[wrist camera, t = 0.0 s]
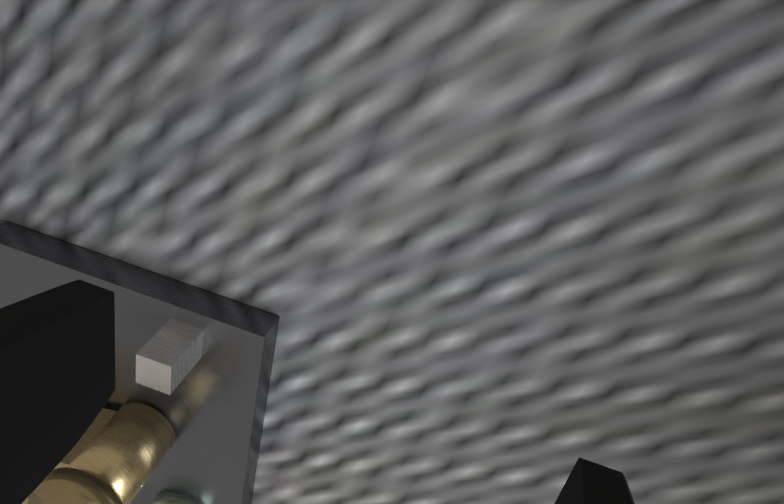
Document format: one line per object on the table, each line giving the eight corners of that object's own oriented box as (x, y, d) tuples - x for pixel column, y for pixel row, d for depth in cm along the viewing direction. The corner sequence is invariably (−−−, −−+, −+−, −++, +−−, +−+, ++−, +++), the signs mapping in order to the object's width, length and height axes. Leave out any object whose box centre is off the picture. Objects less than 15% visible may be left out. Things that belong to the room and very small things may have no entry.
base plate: (238, 586, 31) (204, 653, 28) (37, 505, 32) (-15, 562, 30) (279, 316, 23) (236, 376, 20) (5, 221, 24) (-70, 265, 21)
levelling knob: (177, 405, 24) (102, 499, 21) (186, 465, 26) (118, 563, 22) (4, 365, 26) (-94, 446, 22) (22, 424, 27) (-67, 508, 24)
